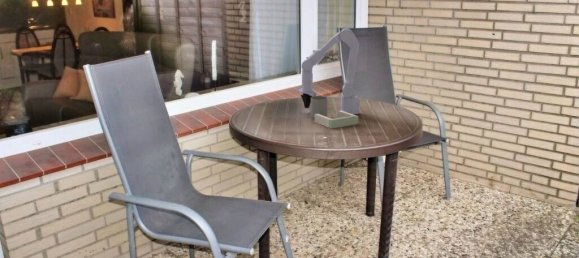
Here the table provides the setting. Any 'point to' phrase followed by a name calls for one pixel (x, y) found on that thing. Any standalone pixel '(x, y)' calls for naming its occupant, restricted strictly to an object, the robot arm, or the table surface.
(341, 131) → the table surface
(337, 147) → the table surface
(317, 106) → the cup
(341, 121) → the stall
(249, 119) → the table surface
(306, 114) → the table surface
